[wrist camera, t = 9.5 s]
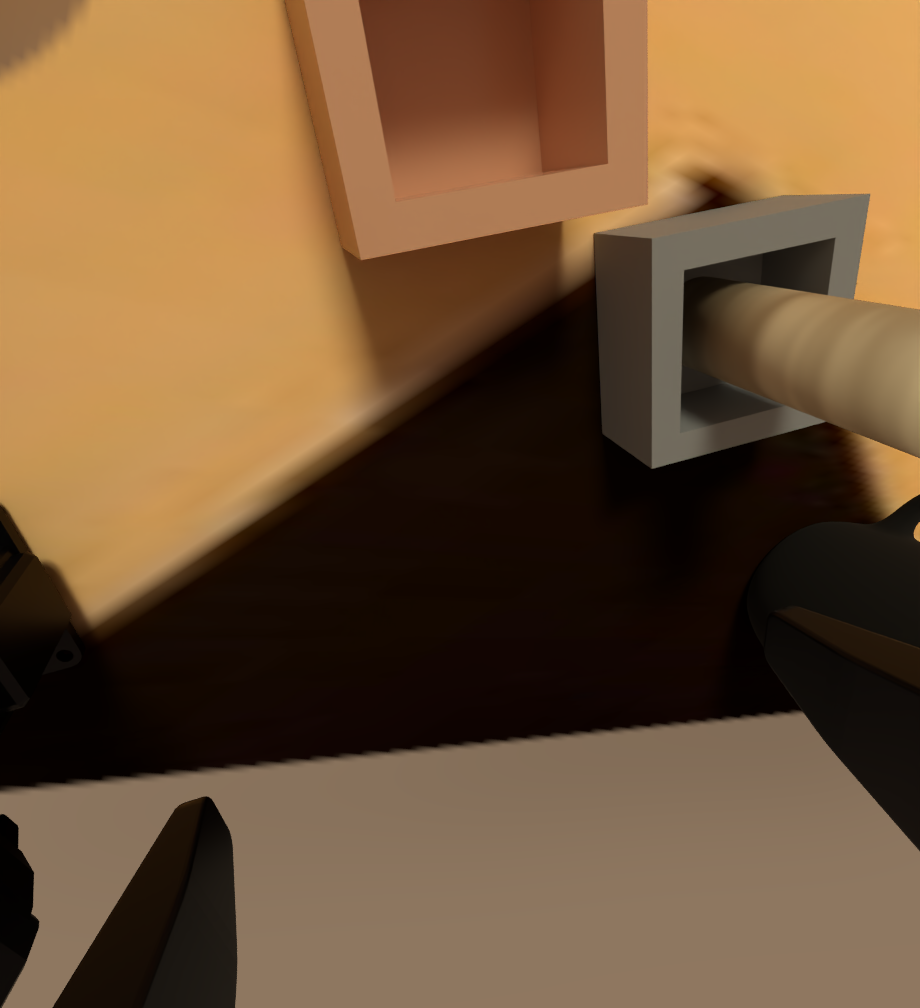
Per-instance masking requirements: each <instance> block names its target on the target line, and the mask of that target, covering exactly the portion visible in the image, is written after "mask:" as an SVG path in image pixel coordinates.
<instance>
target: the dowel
mask: <svg viewBox="0 0 920 1008" xmlns="http://www.w3.org/2000/svg"><path fill="white" fill-rule="evenodd" d="M682 365H683V366H686V367H689V368H691V369H694V370H696V371H699V372H701V373H704V374H706V375H709V376H712V377H714V378H717V379H719V380H722V381H724V382H727V383H729V384H732V385H735V386H737V387H740V388H742V389H745V390H747V391H750V392H752V393H755V394H757V395H760V396H763V397H765V398H768V399H770V400H773V401H775V402H778V403H780V404H783V405H786V406H788V407H791V408H793V409H796V410H798V411H801V412H803V413H806V414H809V415H811V416H814V417H816V418H819V419H821V420H824V421H826V422H829V423H831V424H834V425H837V426H839V427H842V428H844V429H847V430H849V431H852V432H854V433H857V434H860V435H862V436H865V437H867V438H870V439H872V440H875V441H877V442H880V443H883V444H885V445H888V446H890V447H893V448H895V449H898V450H900V451H903V452H906V453H908V454H911V455H913V456H916V457H918V458H920V310H918V309H912V308H906V307H899V306H893V305H887V304H880V303H874V302H867V301H861V300H855V299H848V298H842V297H836V296H829V295H823V294H817V293H810V292H804V291H797V290H791V289H785V288H778V287H772V286H766V285H759V284H753V283H747V282H740V281H734V280H727V279H721V278H715V277H708V276H701V277H696V278H692V279H690V280H688V281H686V282H684V291H683V331H682Z"/></svg>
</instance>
